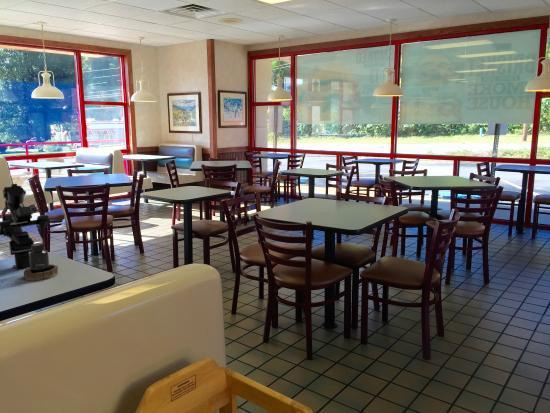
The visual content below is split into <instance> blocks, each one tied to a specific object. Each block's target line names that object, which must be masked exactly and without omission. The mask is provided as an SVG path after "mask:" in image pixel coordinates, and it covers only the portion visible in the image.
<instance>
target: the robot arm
mask: <svg viewBox="0 0 550 413" xmlns="http://www.w3.org/2000/svg"><path fill="white" fill-rule="evenodd" d="M26 195H27V191H26V190H25V189H24V188H23V187H22V186H21V185H18V184H17V183H11V186H5V187H4V188H3V189H2V198H3V199H5V201H4V208H3V209H2V211H1V221H0V236H3V237H8V238H9V239H10V240H9V241H8V246H9V249H8V250H9V253H10V256H14V263H15V264H14V265H12V268H14V269H17V270H21V269H25V268H26V269H27V268H30V258H29V254H30V252H32V250H31V245H33V244H35V241H34V240H33V238H32V237H30V234H29V232H28V231H23V228H26V227H31V226H36V228H37V232H38V233H39V236H40V238H41V239H42V240H44V239H45V229H46V228H47V227H48V226H49V223H50V220H51V218H50V216H49V215H47V214H43V215H38V216H37V217H36V219H32V218H33V214H34V213H36V212H37V211H38V208H37V206H36V204H35V203H32V204H30V205H26V206H25V205H24V199H25V198H24V197H25V196H26ZM8 211H9V212H10V213H9V214H6V213H7V212H8Z"/></svg>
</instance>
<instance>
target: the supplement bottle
mask: <svg viewBox="0 0 550 413" xmlns="http://www.w3.org/2000/svg"><path fill="white" fill-rule="evenodd" d="M31 250H32V252H29V258H30V267H29V268H31V273H40V272H45V271H49V270H50V266H49V265H50V256H49V251H48V250H46V245H45V243H34V244H33V245H31Z"/></svg>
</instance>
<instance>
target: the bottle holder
mask: <svg viewBox="0 0 550 413" xmlns="http://www.w3.org/2000/svg"><path fill="white" fill-rule="evenodd" d="M49 266H50V270H49V271H45V272H40V273H31V268H30V267H27V268H26V269H25V268H24V270H23V272H22V273H23V277H24V279H25V281H33V282H34V281H44V280H48V279H52V278H54V277H56V276H57V275H58V274H59V268H58V265H56V264H49Z"/></svg>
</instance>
